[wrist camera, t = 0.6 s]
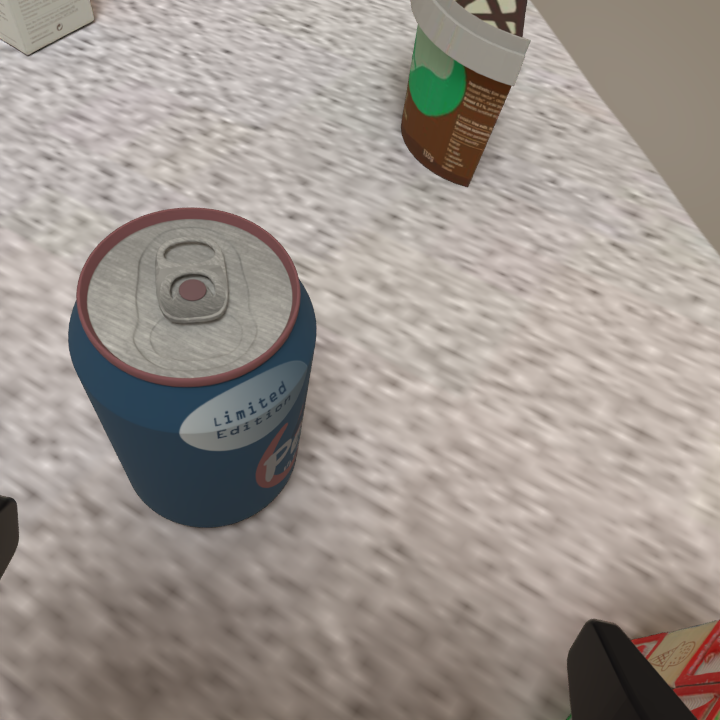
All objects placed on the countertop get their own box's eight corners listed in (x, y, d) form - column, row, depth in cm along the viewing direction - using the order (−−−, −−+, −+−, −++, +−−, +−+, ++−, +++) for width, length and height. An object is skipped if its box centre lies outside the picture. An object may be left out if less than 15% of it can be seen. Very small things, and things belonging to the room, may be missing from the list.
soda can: (307, 521, 25) (345, 386, 15) (131, 550, 24) (43, 420, 14) (283, 377, 29) (301, 186, 18) (128, 393, 27) (54, 194, 17)
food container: (399, 61, 43) (435, -102, 34) (483, 84, 43) (540, -73, 35) (366, 178, 36) (401, 12, 28) (465, 204, 37) (530, 47, 28)
